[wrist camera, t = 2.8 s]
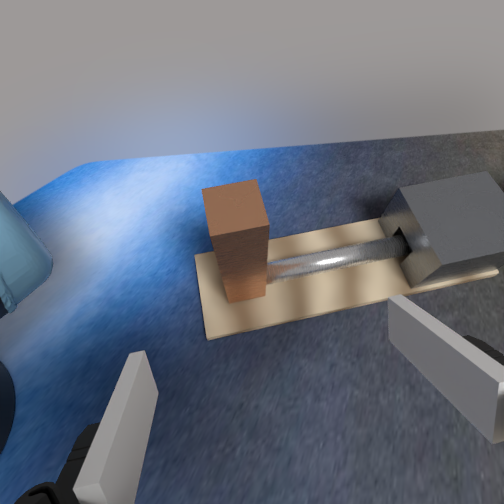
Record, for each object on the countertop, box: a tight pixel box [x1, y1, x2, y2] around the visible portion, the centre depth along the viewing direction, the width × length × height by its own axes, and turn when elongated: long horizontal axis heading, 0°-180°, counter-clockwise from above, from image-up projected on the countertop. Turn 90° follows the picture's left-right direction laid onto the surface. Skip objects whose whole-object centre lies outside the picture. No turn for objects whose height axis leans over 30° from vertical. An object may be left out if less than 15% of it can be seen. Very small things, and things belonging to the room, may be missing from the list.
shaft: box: [202, 179, 413, 304], centre depth 28 cm, size 21×4×14 cm, turn 102°
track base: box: [195, 218, 499, 340], centre depth 35 cm, size 34×10×1 cm, turn 102°
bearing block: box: [378, 171, 504, 289], centre depth 33 cm, size 10×9×6 cm
